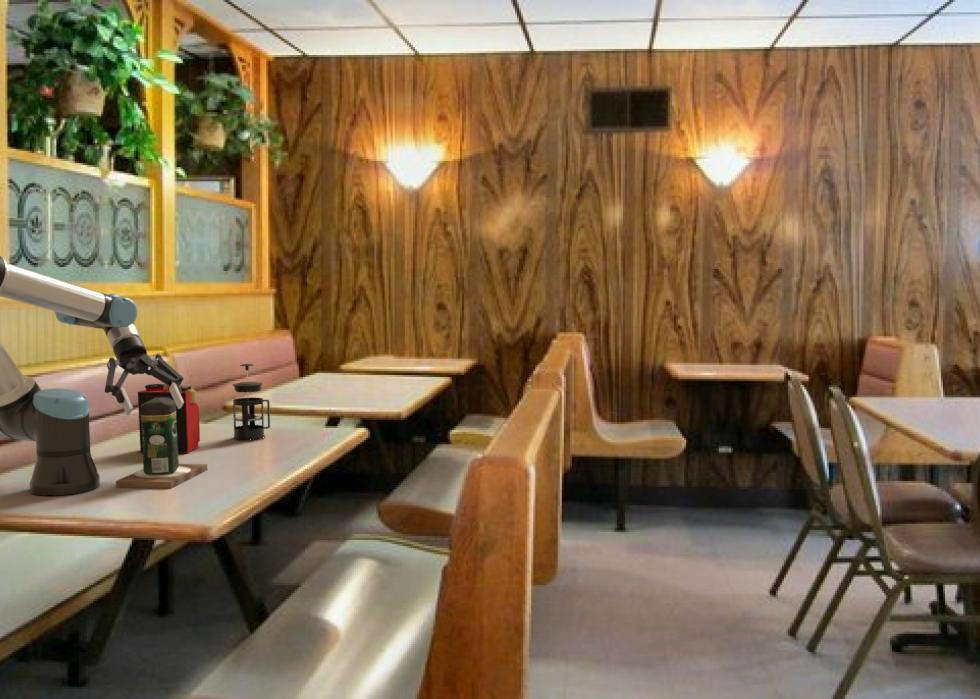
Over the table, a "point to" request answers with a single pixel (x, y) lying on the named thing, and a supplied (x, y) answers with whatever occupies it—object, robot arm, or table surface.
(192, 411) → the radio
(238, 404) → the french press
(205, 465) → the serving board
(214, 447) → the table surface
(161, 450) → the coffee jar
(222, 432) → the table surface
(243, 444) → the table surface
